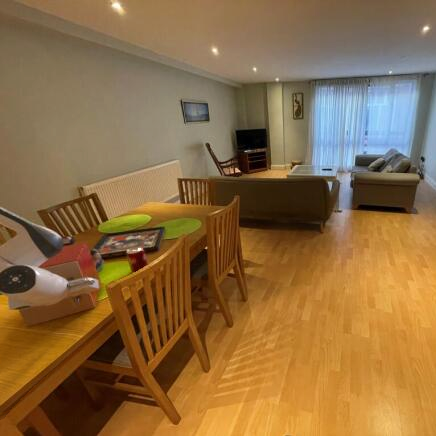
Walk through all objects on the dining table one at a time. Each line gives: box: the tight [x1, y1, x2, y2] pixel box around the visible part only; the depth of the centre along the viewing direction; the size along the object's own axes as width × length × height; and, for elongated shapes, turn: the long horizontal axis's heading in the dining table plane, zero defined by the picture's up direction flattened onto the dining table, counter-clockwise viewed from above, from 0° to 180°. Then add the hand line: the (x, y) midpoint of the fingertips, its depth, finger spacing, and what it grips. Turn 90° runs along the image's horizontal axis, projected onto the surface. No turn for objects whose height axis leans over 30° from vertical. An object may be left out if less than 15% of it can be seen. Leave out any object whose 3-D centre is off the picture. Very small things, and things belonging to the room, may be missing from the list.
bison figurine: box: [89, 247, 105, 273], centre depth 116 cm, size 12×7×10 cm, turn 14°
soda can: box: [125, 247, 149, 274], centre depth 116 cm, size 7×7×12 cm
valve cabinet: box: [39, 241, 103, 307], centre depth 94 cm, size 16×20×22 cm
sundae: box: [58, 233, 77, 246], centre depth 127 cm, size 7×7×15 cm
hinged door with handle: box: [18, 261, 96, 327], centre depth 85 cm, size 6×20×21 cm, turn 119°
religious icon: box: [92, 226, 166, 259], centre depth 144 cm, size 38×35×3 cm
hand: (68, 296), depth 84 cm, fingers open, 8 cm apart
